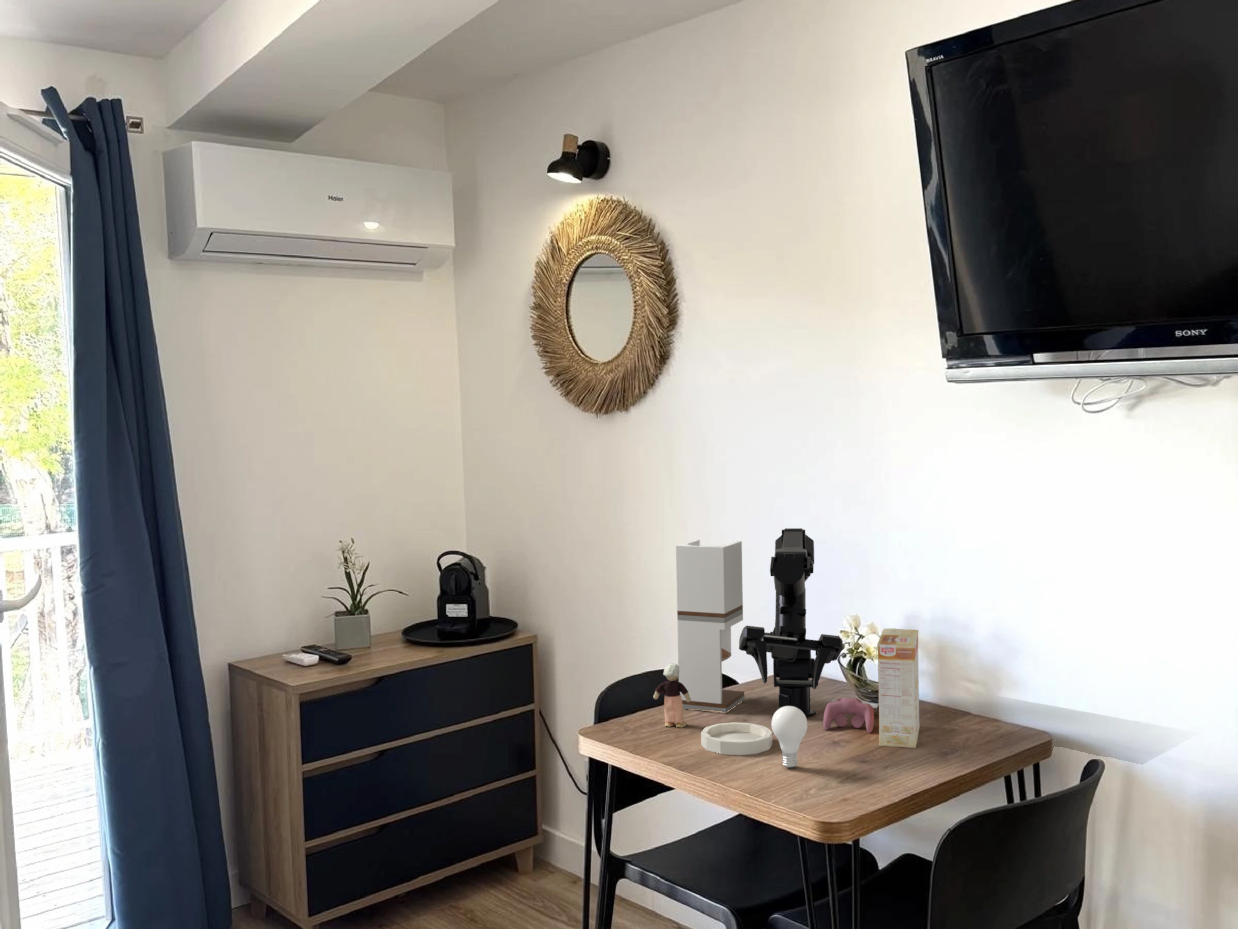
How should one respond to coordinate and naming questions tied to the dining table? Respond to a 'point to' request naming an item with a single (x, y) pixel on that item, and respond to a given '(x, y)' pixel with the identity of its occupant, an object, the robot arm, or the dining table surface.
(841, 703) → the video game controller
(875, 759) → the dining table surface
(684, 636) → the white tower with stripe
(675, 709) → the grandmother figurine
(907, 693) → the coffeecake box
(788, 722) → the lightbulb
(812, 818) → the dining table surface
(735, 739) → the dish
